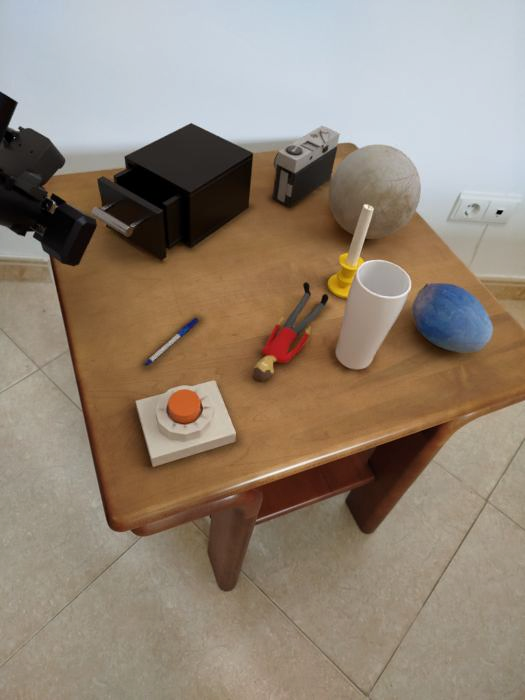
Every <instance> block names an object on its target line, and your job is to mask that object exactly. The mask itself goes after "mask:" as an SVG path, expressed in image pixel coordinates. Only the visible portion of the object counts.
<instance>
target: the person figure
mask: <svg viewBox="0 0 525 700" xmlns="http://www.w3.org/2000/svg"><path fill="white" fill-rule="evenodd" d="M302 285H303V290H304V294H303V296H302V297H301V299H300V300H299V303H298V304H297V305H296V307H295V308H294V310H293V311H292V312H291V313H290V314H289V316H288V317H287V319H286V321H285V319H284V316H282V317H280V318H279V320H278V321H277V323H276V324H275V325H274V327H273V329H272V331H271V333H270V336H269V338H268V340H267V342H266V343H265V345H264V347H263V348H262V354H263V358H261V359H260V360H259V361H258V362H257V363H256V364H255V366H254V368H253V370H252V371H253V376H254V378H255V379H257V380H258V381H262V382H264V381H265V382H266V381H267V380H269V379H270V378H271V377H272V376H273V375H272V374H274V373H275V369H274V363H280V364H287V363H288V362H290V361H291V360H292V359H293V358H294V357H295V356H296V354H298V353H299V352H300V351H301V350H302V348H303V347H304V345H305V343H306V341H308V339H309V338H310V335H311V333H312V329H311V325H310V323H311V322H312V321H313V320H314V319H315V318H316V316H317V315H318V314H319V313H320V312H321V311H322V309H323V308H324V307H325V306H326V304H327V303H328V301H329V298H330V297H329V295H328V294H327V293H323V294H322V296H321V299H320V302H319V304H318V305H317V306H315V308H314V309H313V310H312V311H311V312H310V313H308V315H307V316H305V318H303V320H301V321H299V322H298V323H297V324H296V325H295V323H296V320H297V318H298V316H299V315H300V314H301V312H302V311H303V309H304V307H305V305H306V303H307V302H308V300H309V299H310V297H311V295H312V293H311V286H310V283H309V282H307V281H304V283H303V284H302ZM284 321H285V322H284ZM283 322H284V324H283V325H282V326H281V324H282V323H283ZM280 326H281V328H280ZM279 329H280V330H279ZM304 330H305V331H304ZM302 332H304V334H303V336H302V338H301V339H300V341H299V343H298V344H297V345H296V346H295V348H293V349H292V350H291V351H289V348H290V346H291V344H292V343H293V342H294V341H296V340H297V338H298V337H299V336H300V335H301V334H302Z"/></svg>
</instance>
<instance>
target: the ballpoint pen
mask: <svg viewBox="0 0 525 700" xmlns="http://www.w3.org/2000/svg"><path fill="white" fill-rule="evenodd" d="M198 322H199V318H197V317H195V318H193V319H192V320H190V321H189V322H188V323H186V325H185V326H183V327H182V328H181V329H180V330H179V331H178V332H177V333H176V334H175V335H174V336H172V338H171V339H170V340H169V341H167V342H166V343H165V344H164V345H163V346H161V347H160V348H159V349H158V350H157V351H155V353H153V354H152V355H151V356H150V357H149V358H148V359H147V360H146V362H145V363H144V365H145V366H148V365H150V364H152V363H153V362H155V360H156V359H158V357H160V356H161V355H162V354H163V353H164V352H166V350H168V349H169V348H170V347H171V346H173V344H174V343H176V342H177V341H178V340H179V339H180V338H182V337H183V336H184V335H186V333H188V331H190V330H191V329H192V328H193V327H194V326H195V325H196V324H197V323H198Z"/></svg>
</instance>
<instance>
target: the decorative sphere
mask: <svg viewBox="0 0 525 700" xmlns="http://www.w3.org/2000/svg"><path fill="white" fill-rule="evenodd" d="M421 183H422V182H421V178H420V175H419V171H418V169H417V167H416V166H415V163H414V162H413V161H412V160H411V158H410V157H409V156H408V155H407V154H406V153H404V152H403V151H402V150H400V149H398V148H396V147H394V146H391V145H387V144H369V145H365V146H362V147H359V148H357V149H355V150H354V151H351V152H350V153H349V154H348V155H347V156H346V157H344V158H343V159H342V160H341V161H340V163H338V166H337V167H336V168H335V170H334V172H333V174H332V175H331V179H330V182H329V187H328V202H329V207H330V211H331V214H332V216H333V217H334V219H335V221H336V222H337V223H338V225H339V226H340V227H341V228H342V229H343V230H345V231H346V232H347V233H349V234H351V235H352V236H354V233H355V230H356V227H357V223H358V220H359V217H360V214H361V211H362V208H363V205H365V204H366V205H369V203H370V206H372V207H373V208H374V210H373V214H372V217H371V221H370V224H369V227H368V230H367V234H366V237H365V239H367V240H377V239H382V238H386V237H388V236H391V235H393V234H395V233H397V232H398V231H400V230H401V229H403V227H405V226H406V225H407V224H408V223H409V221H410V220H411V219H412V218H413V216H414V215H415V213H416V210H417V208H418V206H419V203H420V200H421V192H422V185H421Z"/></svg>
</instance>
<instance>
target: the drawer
mask: <svg viewBox="0 0 525 700" xmlns="http://www.w3.org/2000/svg"><path fill="white" fill-rule="evenodd" d="M112 177H113V180H111V179H109V178H107V177H106V176H104V175H102V176H100V177H98V178H97V179H96V180H97V181H96V182H97V185H98V192H99V198H100V203H101V207H99V206H95V207H93V208H92V210H91V215H92V217H93V218H95V219H96V220H98V221H100V222H101V223H103V224H105V227H106V228H107V229H109V230H111V232H114V233H115V234H117V235H119V236H120V237H122V238H124V239H125V240H127V241H129V243H131V244H133V245H135V246H136V247H137V248H140V249H141V250H143V251H144V252H146V253H148V254H149V255H151V256H152V257H154V258H156V259H157V260H159V261H160V262H163V260H165V259H166V258H167V250H168V251H169V250H171V249H173V248H174V247H175V246H177V245H178V244H180V243H181V241H183V240H184V239H186V238H187V210H186V194H185V193H183V192H181V191H179V190H177V189H176V188H174V187H172V186H170V185H168V184H166V183H165V182H163V181H161V180H159V179H157V178H155V177H154V176H152V175H150V174H148V173H146V172H144V171H143V170H141V169H139V168H137V167H135V166H133V165H132V166H130V167H128V168H126V167H125V168H124V169H122V170H120V171H119V172H117V173H115V174H113V176H112Z"/></svg>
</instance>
